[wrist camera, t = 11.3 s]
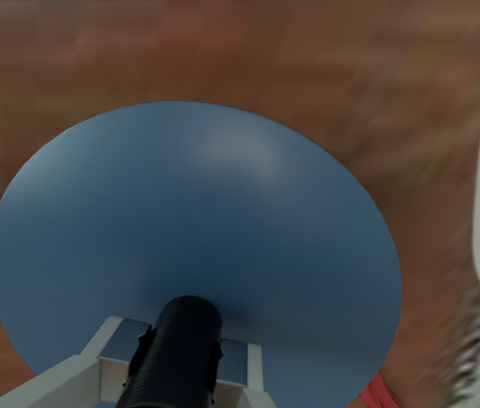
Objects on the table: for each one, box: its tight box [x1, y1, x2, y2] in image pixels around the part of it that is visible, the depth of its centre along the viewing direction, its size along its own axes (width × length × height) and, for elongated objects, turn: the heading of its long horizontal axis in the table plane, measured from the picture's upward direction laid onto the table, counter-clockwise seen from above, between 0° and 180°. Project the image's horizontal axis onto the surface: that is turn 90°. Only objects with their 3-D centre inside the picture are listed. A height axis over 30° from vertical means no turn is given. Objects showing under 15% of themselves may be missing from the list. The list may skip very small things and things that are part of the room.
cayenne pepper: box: [360, 370, 402, 408], centre depth 19 cm, size 12×5×2 cm, turn 4°
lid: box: [0, 101, 402, 408], centre depth 8 cm, size 17×17×5 cm
